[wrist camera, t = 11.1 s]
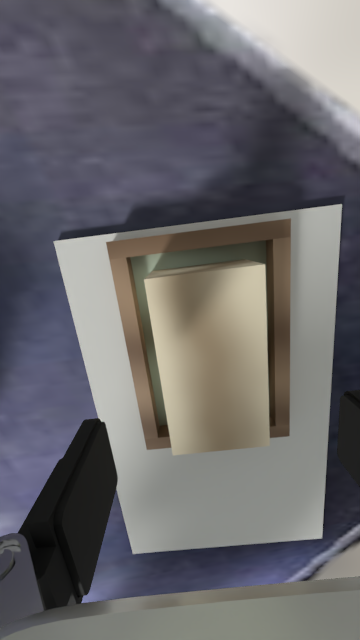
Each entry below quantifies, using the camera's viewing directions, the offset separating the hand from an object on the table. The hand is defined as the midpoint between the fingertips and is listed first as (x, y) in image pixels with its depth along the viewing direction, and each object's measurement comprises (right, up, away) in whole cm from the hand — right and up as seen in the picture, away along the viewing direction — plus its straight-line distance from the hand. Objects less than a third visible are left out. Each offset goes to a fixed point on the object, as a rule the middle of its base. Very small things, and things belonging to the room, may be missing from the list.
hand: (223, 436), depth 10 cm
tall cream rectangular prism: (0, +3, +8) cm, 8 cm away
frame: (0, +3, +9) cm, 9 cm away
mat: (+1, -3, +10) cm, 11 cm away
